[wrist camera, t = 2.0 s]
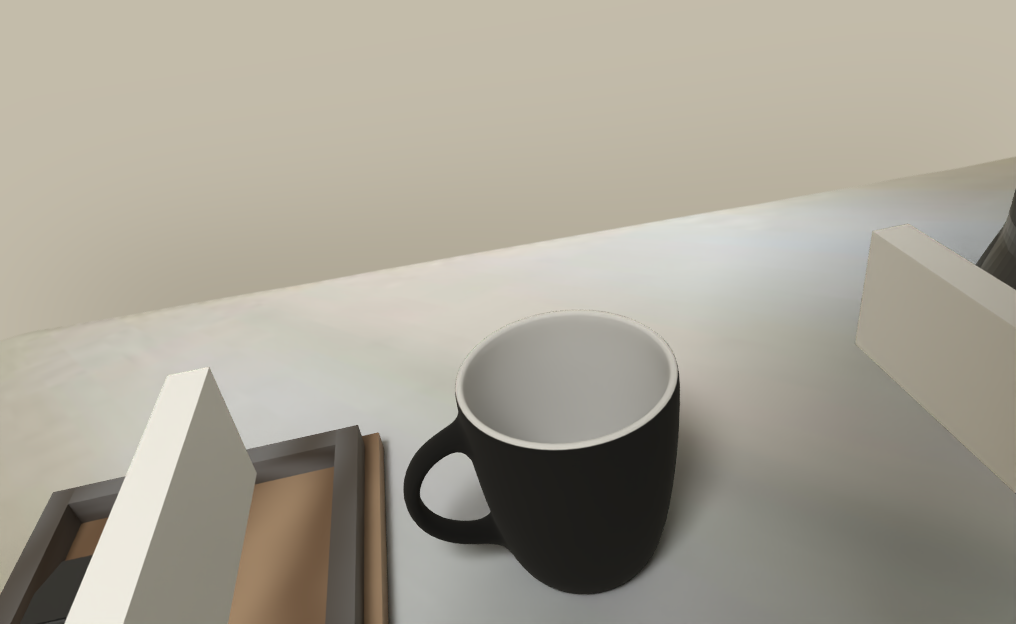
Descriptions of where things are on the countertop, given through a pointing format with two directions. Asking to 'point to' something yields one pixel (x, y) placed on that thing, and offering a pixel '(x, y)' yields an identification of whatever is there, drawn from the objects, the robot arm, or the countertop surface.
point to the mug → (564, 446)
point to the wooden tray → (260, 535)
